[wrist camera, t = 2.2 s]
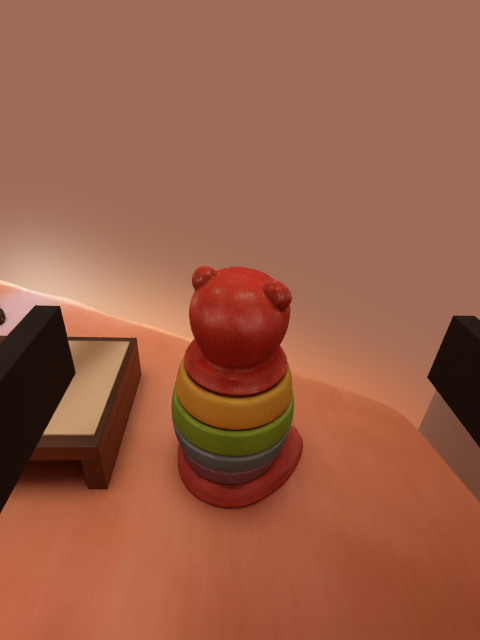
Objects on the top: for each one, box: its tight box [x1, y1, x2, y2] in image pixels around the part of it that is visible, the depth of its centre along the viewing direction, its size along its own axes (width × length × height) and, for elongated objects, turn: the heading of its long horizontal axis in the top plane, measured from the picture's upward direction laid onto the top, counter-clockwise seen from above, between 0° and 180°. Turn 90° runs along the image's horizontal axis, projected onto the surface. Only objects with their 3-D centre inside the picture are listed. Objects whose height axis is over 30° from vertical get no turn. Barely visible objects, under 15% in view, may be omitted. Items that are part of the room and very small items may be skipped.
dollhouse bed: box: [0, 336, 141, 489], centre depth 31 cm, size 16×14×10 cm
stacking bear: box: [172, 266, 303, 507], centre depth 27 cm, size 11×10×18 cm
